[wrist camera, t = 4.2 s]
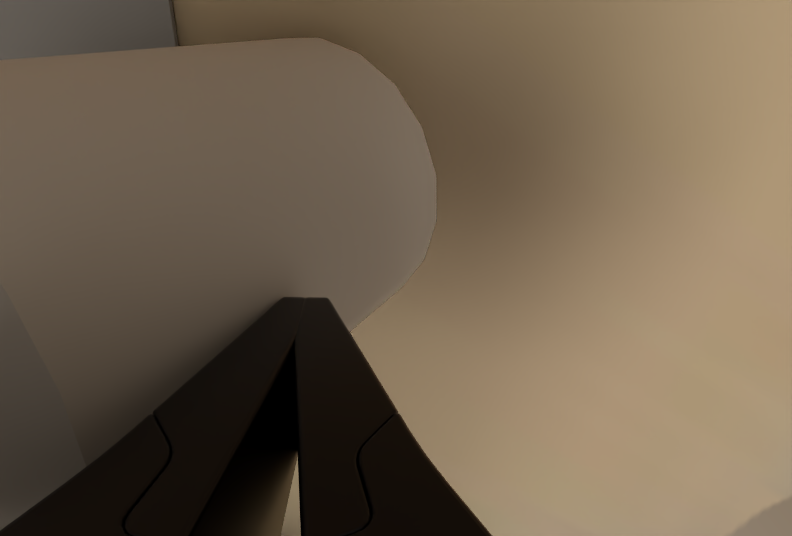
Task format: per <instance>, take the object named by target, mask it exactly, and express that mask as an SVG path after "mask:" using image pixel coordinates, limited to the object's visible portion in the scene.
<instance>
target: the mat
mask: <svg viewBox="0 0 792 536" xmlns="http://www.w3.org/2000/svg"><path fill="white" fill-rule="evenodd" d="M177 46H178V40H177V33H176V26H175V19H174V12H173V6H172V0H0V60H9V59H22V58H35V57H48V56H61V55H74V54H87V53H99V52H112V51H125V50H138V49H151V48H164V47H177Z"/></svg>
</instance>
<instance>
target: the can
mask: <svg viewBox="0 0 792 536" xmlns="http://www.w3.org/2000/svg"><path fill="white" fill-rule="evenodd" d="M436 221H437V208H436V173H435V169H434V166H433V162H432V159H431V156H430V152H429V149H428V146H427V142H426V139H425V135H424V132H423V129H422V126H421V125H420V123H419V122H418V120H417V119H416V117H415V115H414V114H413V112H412V111H411V109H410V107H409V106H408V104H407V103H406V101H405V100H404V98H403V96H402V95H401V93H400V92H399V90H398V88H397V87H396V85H395V84H394V83H393V82H391V81H390V80H389V79H388V78H387V77H386V76H385V75H383V74H382V73H381V72H380V71H379V70H378V69H377V68H375V67H374V66H373V65H372V64H371V63H370V62H369V61H367V60H366V59H365V58H364V57H363V56H362V55H360V54H359V53H357V52H354V51H352V50H349V49H347V48H344V47H342V46H339V45H337V44H334V43H332V42H329V41H327V40H324V39H322V38H281V39H268V40H255V41H242V42H229V43H216V44H203V45H190V46H177V47H164V48H151V49H138V50H125V51H112V52H99V53H87V54H74V55H61V56H48V57H35V58H22V59H9V60H0V530H1V529H3V528H4V527H5V526H7V525H8V524H10V523H11V522H12V521H14V520H15V519H16V518H18V517H19V516H20V515H22V514H23V513H25V512H26V511H27V510H29V509H30V508H31V507H33V506H34V505H35V504H37V503H38V502H40V501H41V500H42V499H44V498H45V497H46V496H48V495H49V494H50V493H52V492H53V491H55V490H56V489H57V488H59V487H60V486H61V485H63V484H64V483H65V482H67V481H68V480H69V479H71V478H72V477H73V476H75V475H76V474H77V473H79V472H80V471H81V470H82V469H84V468H85V467H86V466H88V465H89V464H90V463H92V462H93V461H94V460H96V459H97V458H98V457H99V456H101V455H102V454H103V453H104V452H106V451H107V450H108V449H109V448H110V447H112V446H113V445H114V444H115V443H116V442H117V441H119V440H120V439H121V438H122V437H123V436H125V435H126V434H127V433H128V432H129V431H131V430H132V429H133V428H134V427H135V426H136V425H137V424H139V423H140V422H141V421H142V420H143V419H144V418H145V417H147V416H148V415H149V414H152V415H153V411H154V410H155V409H156V408H157V407H158V406H159V405H161V404H162V403H163V402H164V401H165V400H166V399H167V398H168V397H170V396H171V395H172V394H173V393H174V392H175V391H176V390H178V389H179V388H180V387H181V386H182V385H183V384H184V383H185V382H187V381H188V380H189V379H190V378H191V377H192V376H193V375H195V374H196V373H197V372H198V371H199V370H200V369H201V368H203V367H204V366H205V365H206V364H207V363H208V362H209V361H210V360H212V359H213V358H214V357H215V356H216V355H217V354H218V353H220V352H221V351H222V350H223V349H224V348H225V347H226V346H228V345H229V344H230V343H231V342H232V341H233V340H234V339H235V338H237V337H238V336H239V335H240V334H241V333H242V332H243V331H245V330H246V329H247V328H248V327H249V326H250V325H251V324H253V323H254V322H255V321H256V320H257V319H258V318H259V317H260V316H262V315H263V314H264V313H265V312H266V311H267V310H268V309H270V308H271V307H272V306H273V305H274V304H275V303H276V302H277V301H279V300H280V299H281V298H283V297H305V298H307V297H326V298H328V299H329V300H330V301H331V302H332V304H333V306H334V307H335V309H336V311H337V312H338V314H339V316H340V317H341V319H342V321H343V322H344V324H345V325H346V327H347V329H348V330H349V332H350V331H351V330H352V329H354V328H355V327H356V326H357V325H358V324H359V323H361V322H362V321H363V320H364V319H365V318H367V317H368V316H369V315H370V314H371V313H372V312H374V311H375V310H376V309H377V308H378V307H379V306H381V305H382V304H383V303H384V302H385V301H386V300H388V299H389V298H390V297H391V296H392V295H394V294H395V293H396V292H397V291H398V290H399V289H401V288H402V287H403V285H404V284H405V283H406V282H407V280H408V279H409V278H410V277H411V275H412V274H413V273H414V272H415V270H416V269H417V268H418V267H419V266H420V264H421V263H422V262H423V261H424V259H425V256H426V253H427V249H428V246H429V243H430V240H431V237H432V234H433V231H434V228H435V225H436Z"/></svg>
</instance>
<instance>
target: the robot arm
mask: <svg viewBox="0 0 792 536" xmlns="http://www.w3.org/2000/svg"><path fill="white" fill-rule="evenodd" d="M297 456H298V472H299V497H300V522H301V536H492V535H491V534H490V533H489V531H488V530H487V529H486V528H485V527H484V525H483V524H482V523H481V522H480V521H479V519H478V518H477V517H476V516H475V515H474V513H473V512H472V511H471V510H470V509H469V507H468V506H467V505H466V504H465V503H464V501H463V500H462V499H461V498H460V497H459V495H458V494H457V493H456V492H455V491H454V489H453V488H452V487H451V486H450V485H449V483H448V482H447V481H446V480H445V478H444V477H443V476H442V475H441V473H440V472H439V471H438V470H437V468H436V467H435V466H434V464H433V463H432V462H431V461H430V459H429V458H428V457H427V456H426V454H425V453H424V451H423V450H422V448H421V447H420V445H419V444H418V442H417V441H416V439H415V438H414V436H413V435H412V433H411V432H410V430H409V428H408V427H407V425H406V424H405V422H404V420H403V419H402V417H401V415H400V414H398V411H397V409H396V408H395V406H394V404H393V403H392V401H391V399H390V398H389V396H388V394H387V393H386V391H385V390H384V388H383V386H382V385H381V383H380V381H379V380H378V378H377V376H376V375H375V373H374V371H373V370H372V368H371V367H370V365H369V363H368V362H367V360H366V358H365V357H364V355H363V353H362V352H361V350H360V348H359V347H358V345H357V344H356V342H355V340H354V339H353V337H352V335H351V334H350V332H349V330H348V329H347V327H346V325H345V324H344V322H343V321H342V319H341V317H340V316H339V314H338V312H337V311H336V309H335V307H334V306H333V304H332V302H331V301H330V300H329V299H328V298H326V297H307V298H305V297H283V298H281V299H280V300H279V301H277V302H276V303H275V304H274V305H273V306H272V307H271V308H270V309H268V310H267V311H266V312H265V313H264V314H263V315H262V316H260V317H259V318H258V319H257V320H256V321H255V322H254V323H253V324H251V325H250V326H249V327H248V328H247V329H246V330H245V331H243V332H242V333H241V334H240V335H239V336H238V337H237V338H235V339H234V340H233V341H232V342H231V343H230V344H229V345H228V346H226V347H225V348H224V349H223V350H222V351H221V352H220V353H218V354H217V355H216V356H215V357H214V358H213V359H212V360H210V361H209V362H208V363H207V364H206V365H205V366H204V367H203V368H201V369H200V370H199V371H198V372H197V373H196V374H195V375H193V376H192V377H191V378H190V379H189V380H188V381H187V382H185V383H184V384H183V385H182V386H181V387H180V388H179V389H178V390H176V391H175V392H174V393H173V394H172V395H171V396H170V397H168V398H167V399H166V400H165V401H164V402H163V403H162V404H161V405H159V406H158V407H157V408H156V409H155V410H154V411H153V415H152V414H149V415H148V416H147V417H145V418H144V419H143V420H142V421H141V422H140V423H139V424H137V425H136V426H135V427H134V428H133V429H132V430H131V431H129V432H128V433H127V434H126V435H125V436H123V437H122V438H121V439H120V440H119V441H117V442H116V443H115V444H114V445H113V446H112V447H110V448H109V449H108V450H107V451H106V452H104V453H103V454H102V455H101V456H99V457H98V458H97V459H96V460H94V461H93V462H92V463H90V464H89V465H88V466H86V467H85V468H84V469H82V470H81V471H80V472H79V473H77V474H76V475H75V476H73V477H72V478H71V479H69V480H68V481H67V482H65V483H64V484H63V485H61V486H60V487H59V488H57V489H56V490H55V491H53V492H52V493H50V494H49V495H48V496H46V497H45V498H44V499H42V500H41V501H40V502H38V503H37V504H35V505H34V506H33V507H31V508H30V509H29V510H27V511H26V512H25V513H23V514H22V515H20V516H19V517H18V518H16V519H15V520H14V521H12V522H11V523H10V524H8V525H7V526H5V527H4V528H3V529H1V530H0V536H280V535H281V530H282V525H283V521H284V516H285V512H286V507H287V502H288V498H289V493H290V488H291V484H292V479H293V475H294V470H295V465H296V461H297Z"/></svg>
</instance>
